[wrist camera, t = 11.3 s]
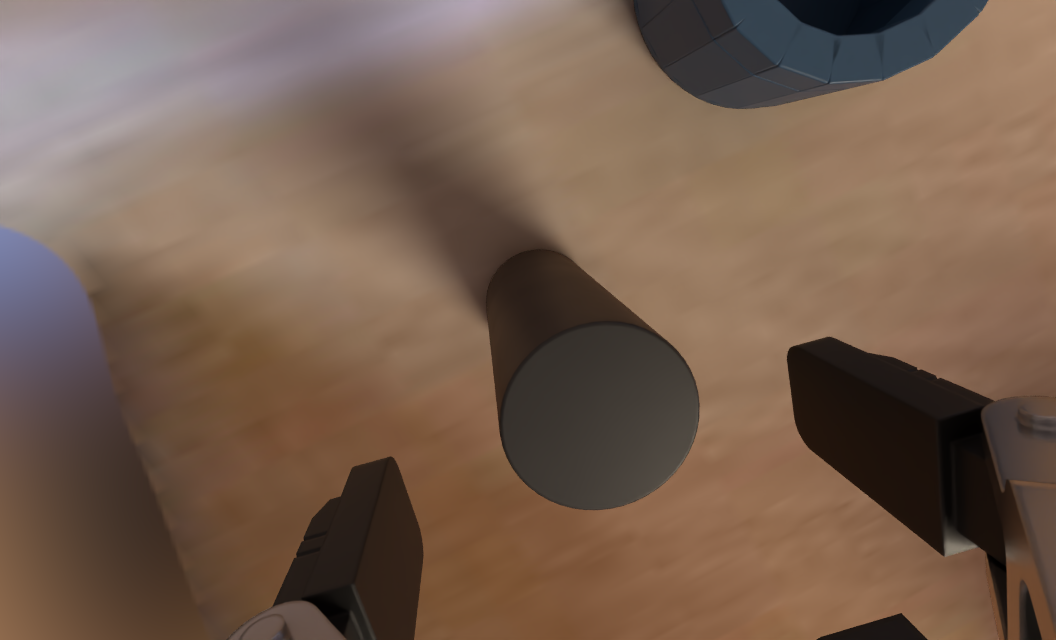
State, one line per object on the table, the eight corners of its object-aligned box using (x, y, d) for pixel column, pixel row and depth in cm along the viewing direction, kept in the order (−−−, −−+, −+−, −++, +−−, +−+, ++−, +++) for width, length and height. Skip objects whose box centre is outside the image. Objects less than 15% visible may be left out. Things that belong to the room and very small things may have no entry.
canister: (501, 363, 24) (528, 534, 13) (473, 265, 23) (474, 353, 11) (599, 336, 24) (715, 481, 13) (577, 237, 23) (682, 297, 12)
